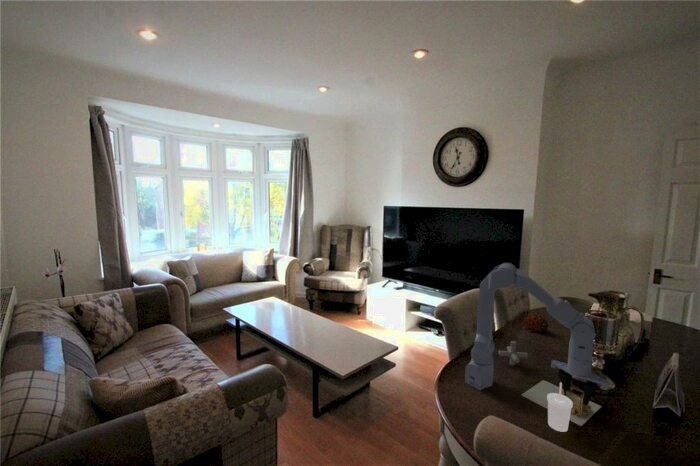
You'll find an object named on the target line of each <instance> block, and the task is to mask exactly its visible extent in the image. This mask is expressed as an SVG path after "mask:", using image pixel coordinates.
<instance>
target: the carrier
mask: <svg viewBox="0 0 700 466" xmlns="http://www.w3.org/2000/svg"><path fill="white" fill-rule="evenodd" d="M559 389H560V386H557V385H556V384H553V383H551V382H548V381H546V380H541V381H539V383H536V384H535V385H533V386H532V387H531V388H529V389H528V390H526V391H525V392H523V393H521V396H522V397H523V398H526V399H528V400H530V401H531V402H534V403H535V404H537V405H539V406H541V407H542V408H543V407H544V408H545V409H547V410H548V400H547V395H548V394H549V393H558V394H559ZM561 394H562V395H564V390H563V388H562V389H561ZM564 396H565V395H564ZM588 404H589V406H590V407H591V413H590V414H589V415H586V416H582V415H578V414H577V413H575V414H573V413H570V419H569V422H572V423H574V424H576V425H577V426H580V427H582V426H583V425H584V424H585V423H586V422H587V421H588V420H589V419H591V417H592V416H594V414H596V412H598V411H599V410H600V409H601V408H602V405H600V404H597V403H596V402H592V401H589V403H588Z"/></svg>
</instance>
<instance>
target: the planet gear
mask: <svg viewBox="0 0 700 466" xmlns="http://www.w3.org/2000/svg"><path fill="white" fill-rule="evenodd" d="M566 397H568V398H569V399H570V400H571V401H572V402H573V407H572V408H571V413H573V414H575V413H577V414H578V415H582V416H586V415H589V414H590V413H591V407H590V406H589V404H587V405H584V404H583V400H584V390H582V389H579V388H577V387H575V386H571V387H570V388H569V389H568V390H566Z"/></svg>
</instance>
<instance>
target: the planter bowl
mask: <svg viewBox="0 0 700 466" xmlns="http://www.w3.org/2000/svg"><path fill="white" fill-rule="evenodd" d="M557 298H560V299H562V300H563V301H565V300H567V301H568V302H569V303H570V306H571V307H572V308H574V309H575V310H576V311H577V312H579V313H582V314H584V316H585V313H586V312H587V311H589V309H590V308H591V307H592V305H593V304H595V303H594V302H593V301H590V300H587V299H586V298H585V299H584V298H580V297H574V296H558V297H557Z"/></svg>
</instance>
